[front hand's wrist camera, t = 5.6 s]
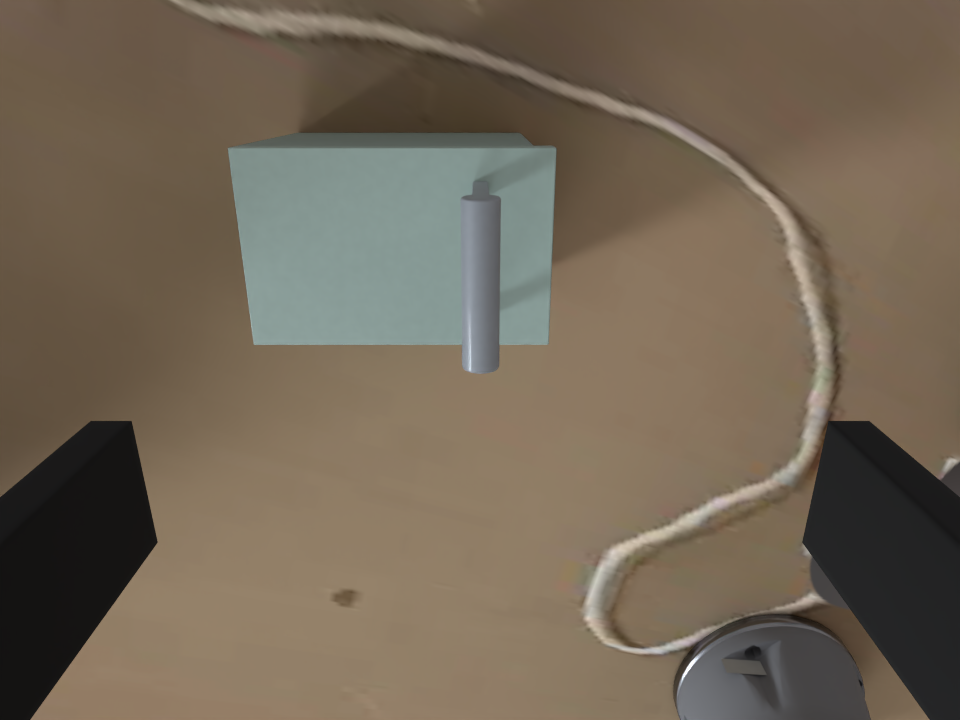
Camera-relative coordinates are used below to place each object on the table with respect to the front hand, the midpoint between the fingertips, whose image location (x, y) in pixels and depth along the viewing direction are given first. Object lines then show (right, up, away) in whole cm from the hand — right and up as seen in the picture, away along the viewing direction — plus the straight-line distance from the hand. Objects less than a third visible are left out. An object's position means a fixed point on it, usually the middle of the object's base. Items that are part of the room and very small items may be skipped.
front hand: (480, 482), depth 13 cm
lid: (-4, +8, +20) cm, 22 cm away
